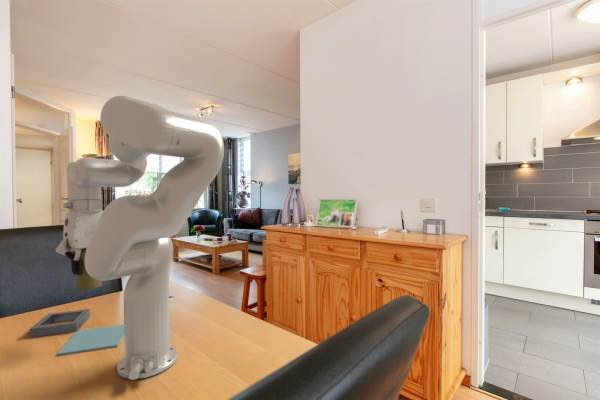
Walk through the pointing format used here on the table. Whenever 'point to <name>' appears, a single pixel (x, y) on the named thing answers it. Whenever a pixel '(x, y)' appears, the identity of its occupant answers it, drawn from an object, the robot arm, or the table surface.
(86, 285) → the cork
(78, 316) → the square socket
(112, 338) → the rubber mat
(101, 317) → the table surface
